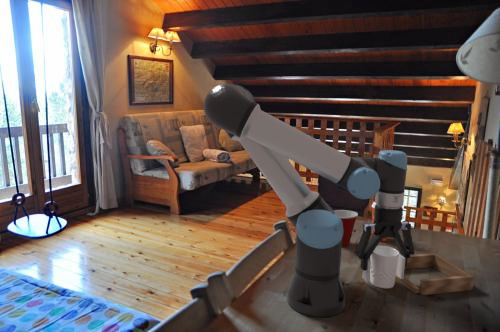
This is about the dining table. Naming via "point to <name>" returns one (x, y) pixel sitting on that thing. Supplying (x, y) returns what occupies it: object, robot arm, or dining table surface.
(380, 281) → the white cup
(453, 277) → the bay
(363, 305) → the dining table surface
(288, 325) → the dining table surface
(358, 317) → the dining table surface
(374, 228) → the robot arm
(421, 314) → the dining table surface
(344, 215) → the plastic cup
